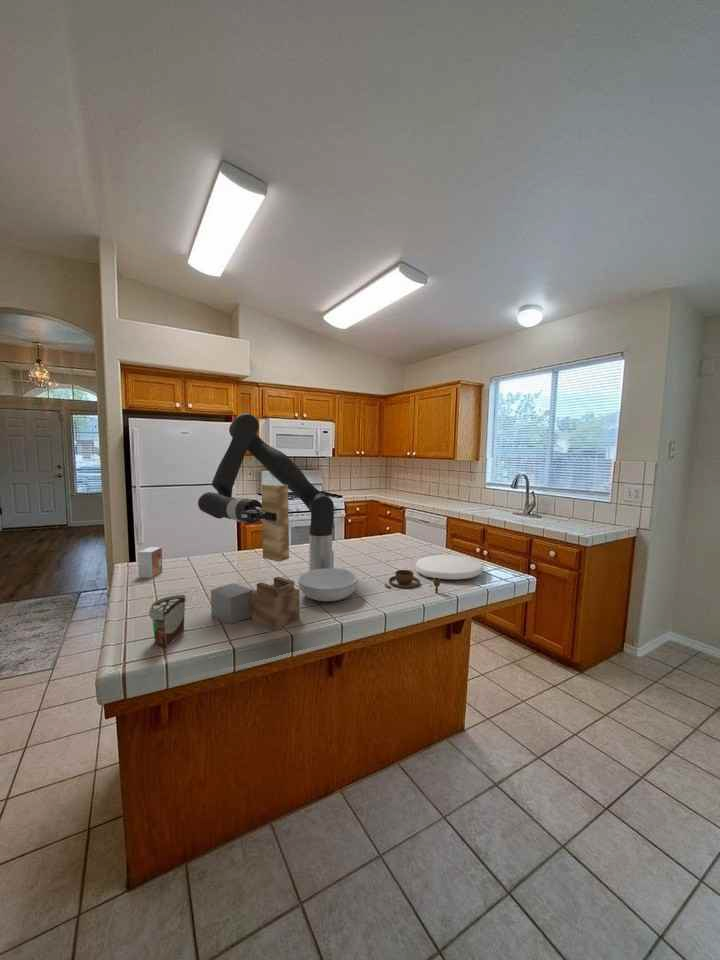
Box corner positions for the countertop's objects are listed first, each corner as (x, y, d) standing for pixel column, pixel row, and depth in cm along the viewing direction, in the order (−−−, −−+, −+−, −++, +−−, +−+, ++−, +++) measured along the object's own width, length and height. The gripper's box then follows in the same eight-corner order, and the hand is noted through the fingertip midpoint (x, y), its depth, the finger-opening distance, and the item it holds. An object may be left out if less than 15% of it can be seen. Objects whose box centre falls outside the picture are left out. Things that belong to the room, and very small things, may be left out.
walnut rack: (277, 610, 124) (276, 574, 123) (299, 618, 118) (299, 581, 117) (251, 621, 116) (251, 583, 115) (274, 630, 110) (273, 591, 109)
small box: (152, 578, 152) (151, 552, 151) (138, 578, 152) (137, 551, 151) (163, 571, 160) (162, 547, 159) (149, 571, 160) (148, 546, 159)
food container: (165, 627, 111) (164, 593, 110) (186, 628, 111) (185, 594, 110) (139, 649, 99) (138, 611, 98) (163, 650, 98) (162, 612, 98)
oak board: (273, 554, 119) (271, 483, 117) (289, 558, 115) (287, 485, 113) (262, 557, 116) (261, 484, 114) (278, 562, 112) (277, 486, 110)
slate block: (233, 606, 126) (233, 582, 125) (253, 615, 120) (253, 589, 119) (211, 615, 119) (210, 590, 119) (231, 624, 113) (230, 597, 113)
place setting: (418, 577, 159) (418, 563, 158) (443, 595, 140) (443, 579, 139) (378, 581, 153) (378, 567, 153) (398, 600, 134) (399, 584, 134)
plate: (416, 570, 151) (413, 553, 178) (417, 586, 152) (414, 566, 178) (489, 566, 148) (475, 548, 175) (490, 582, 149) (476, 562, 175)
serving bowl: (292, 589, 142) (292, 571, 141) (346, 583, 149) (346, 565, 149) (305, 612, 122) (305, 591, 122) (366, 603, 130) (367, 583, 130)
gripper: (224, 501, 116) (262, 506, 106) (262, 496, 128) (299, 500, 118) (225, 525, 117) (262, 533, 107) (262, 518, 129) (299, 524, 118)
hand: (281, 516), depth 112 cm, fingers closed on oak board, 4 cm apart
